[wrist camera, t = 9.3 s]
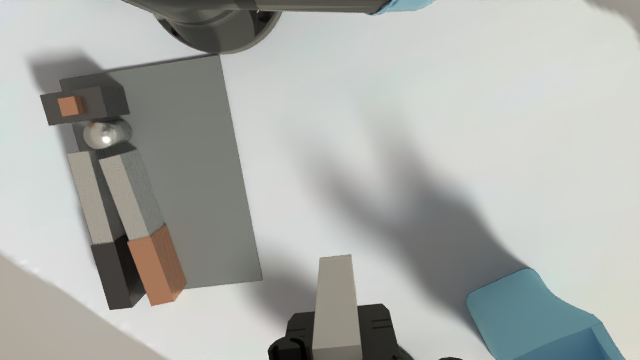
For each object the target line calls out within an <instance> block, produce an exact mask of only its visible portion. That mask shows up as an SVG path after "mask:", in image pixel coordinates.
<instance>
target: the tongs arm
mask: <svg viewBox="0 0 640 360" xmlns="http://www.w3.org/2000/svg"><path fill="white" fill-rule="evenodd" d="M83 137H84V140H85V142H86V143H87V144H88V145H89V146H90V147H92V148H94V149H102V148H106V147H110V146H114V145H118V144H122V143H126V142H128V141H129V140H130V139H131V137H132V128H131V126H130V125H129V124H128V123H127V122H126V121H124V120H111V121H104V122H96V123H91V124H88V125H87V126H86V127H85V129H84V132H83ZM99 163H100V165H101V168H102V170H103V173H104V176H105V178H106V181H107V183H108V186H109V189H110V191H111V194H112V197H113V199H114V202H115V204H116V207H117V210H118V212H119V215H120V218H121V220H122V223H123V225H124V228H125V231H126V233H127V236H128V239H129V241H128V242H127V244H128V246H129V249H130V251H131V254H132V257H133V259H134V262H135V264H136V267H137V270H138V272H139V275H140V277H141V280H142V283H143V285H144V288H145V290H146V293H147V296H148V298H149V301H150V304H151V306H154V305H159V304H163V303H168V302H173V301H175V299H176V298H177V297H178V295H179V294H180V293H181V291H182V290H183V289H184V288H185V286H186V285H187V282H186V279H185V276H184V273H183V270H182V268H181V265H180V262H179V259H178V256H177V253H176V251H175V248H174V245H173V242H172V239H171V237H170V234H169V231H168V228H167V225H166V224H164V221H163V219H162V216H161V213H160V210H159V207H158V205H157V202H156V199H155V196H154V193H153V191H152V188H151V185H150V182H149V179H148V177H147V174H146V171H145V168H144V165H143V163H142V160H141V157H140V154H139V151H138V149H137V150H133V151H129V152H125V153H121V154H117V155H114V156H110V157H107V158H104V159H100V160H99Z"/></svg>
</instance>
